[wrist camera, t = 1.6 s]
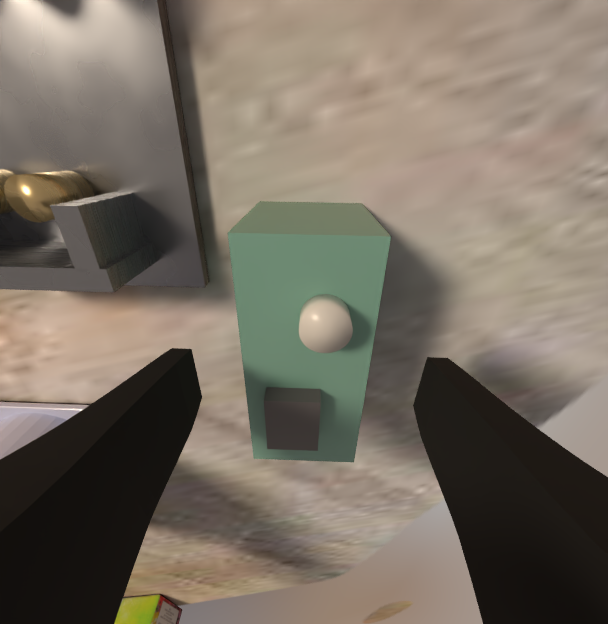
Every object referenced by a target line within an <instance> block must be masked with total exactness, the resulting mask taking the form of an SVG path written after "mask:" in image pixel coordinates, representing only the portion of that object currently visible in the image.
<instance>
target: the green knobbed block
mask: <svg viewBox="0 0 608 624" xmlns="http://www.w3.org/2000/svg"><path fill="white" fill-rule="evenodd" d="M228 240H229V248H230V257H231V266H232V274H233V283H234V292H235V300H236V309H237V317H238V326H239V335H240V343H241V352H242V361H243V369H244V378H245V387H246V395H247V404H248V413H249V421H250V430H251V439H252V447H253V456H254V459H279V460H306V461H334V462H354V458H355V452H356V446H357V440H358V434H359V428H360V422H361V416H362V410H363V404H364V398H365V391H366V385H367V379H368V373H369V367H370V361H371V355H372V349H373V343H374V337H375V331H376V325H377V319H378V313H379V306H380V300H381V294H382V288H383V282H384V276H385V270H386V264H387V258H388V252H389V246H390V240H391V236H390V235H389V234H388V233H387V231H386V230H385V229H384V228H383V227H382V226H381V225H380V223H379V222H378V221H377V220H376V219H375V218H374V217H373V216H372V214H371V213H370V212H369V211H368V210H367V209H366V208H365V206H364V205H363V204H361V203H313V202H265V201H260V202H259V203H258V204H257V205H256V206H255V207H254V208H253V209H252V210H251V211H250V212H249V213H248V214H246V215H245V216H244V217H243V218H242V219H241V220H240V221H239V222H238V223H237V224H236V225H235V226H234V227H233V228H232V229H231V230H230V231H229V232H228Z"/></svg>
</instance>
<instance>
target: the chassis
mask: <svg viewBox="0 0 608 624" xmlns="http://www.w3.org/2000/svg"><path fill="white" fill-rule="evenodd" d="M208 283H209V276H208V269H207V263H206V257H205V250H204V244H203V238H202V231H201V225H200V219H199V212H198V206H197V200H196V193H195V187H194V181H193V174H192V168H191V162H190V155H189V149H188V143H187V136H186V130H185V124H184V117H183V111H182V105H181V98H180V92H179V86H178V79H177V73H176V67H175V60H174V54H173V48H172V41H171V35H170V29H169V22H168V16H167V10H166V3H165V0H0V289H17V290H52V291H87V292H115V291H116V290H118V289H119V288H121V287H122V286H123V285H132V286H167V287H203V288H205V287H206V286H207V285H208Z"/></svg>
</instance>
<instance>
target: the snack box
mask: <svg viewBox="0 0 608 624" xmlns="http://www.w3.org/2000/svg"><path fill="white" fill-rule="evenodd" d="M181 612H182V609H181V608H179V607H178V606H176V605H175V604H173V603H172V602H170V601H168V600H167V599H165V598H164V597H163V596H161V595H159V594H156V595H147V596H137V597H127V598H123V599H122V602H121V605H120V608H119V611H118V614H117V617H116V620H115V623H114V624H179V620H180V616H181Z"/></svg>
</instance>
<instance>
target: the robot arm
mask: <svg viewBox="0 0 608 624" xmlns="http://www.w3.org/2000/svg"><path fill="white" fill-rule="evenodd" d="M201 399H202V395H201V390H200V386H199V381H198V377H197V372H196V368H195V363H194V359H193V354H192V349H175V348H172V349H170V350H169V351H167V352H166V353H164V354H163V355H161V356H160V357H158V358H157V359H155V360H154V361H153V362H151V363H150V364H148V365H147V366H146V367H144V368H143V369H141V370H140V371H139V372H137V373H136V374H134V375H133V376H132V377H130V378H129V379H127V380H126V381H124V382H123V383H122V384H120V385H119V386H117V387H116V388H114V389H113V390H112V391H110V392H109V393H107V394H106V395H104V396H103V397H101V398H100V399H98V400H97V401H95V402H94V403H92V404H91V405H74V404H46V403H18V402H0V624H114V623H115V620H116V617H117V614H118V611H119V608H120V605H121V602H122V599H123V596H124V593H125V590H126V587H127V584H128V581H129V578H130V575H131V573H132V570H133V567H134V564H135V561H136V558H137V556H138V553H139V550H140V547H141V545H142V542H143V539H144V536H145V534H146V531H147V528H148V525H149V523H150V520H151V518H152V516H153V513H154V511H155V508H156V506H157V504H158V502H159V499H160V497H161V495H162V493H163V491H164V489H165V486H166V484H167V482H168V480H169V478H170V476H171V474H172V471H173V469H174V467H175V465H176V463H177V461H178V459H179V456H180V454H181V452H182V450H183V448H184V445H185V443H186V441H187V439H188V437H189V434H190V432H191V430H192V427H193V424H194V421H195V418H196V415H197V412H198V409H199V406H200V402H201ZM413 406H414V410H415V415H416V419H417V423H418V427H419V431H420V435H421V438H422V441H423V444H424V446H425V449H426V452H427V454H428V457H429V460H430V462H431V465H432V467H433V470H434V473H435V475H436V478H437V480H438V483H439V485H440V488H441V491H442V493H443V496H444V498H445V501H446V503H447V506H448V508H449V511H450V514H451V516H452V519H453V522H454V525H455V528H456V531H457V533H458V536H459V539H460V543H461V546H462V550H463V553H464V557H465V560H466V563H467V567H468V570H469V574H470V577H471V581H472V583H473V588H474V591H475V595H476V599H477V602H478V606H479V609H480V613H481V617H482V621H483V624H608V477H606V476H605V475H603V474H602V473H600V472H599V471H597V470H596V469H594V468H592V467H591V466H590V465H588V464H587V463H585V462H583V461H582V460H580V459H579V458H578V457H576V456H575V455H573V454H572V453H570V452H569V451H568V450H566V449H565V448H563V447H562V446H561V445H559V444H558V443H557V442H555V441H553V440H552V439H551V438H550V437H548V436H547V435H546V434H544V433H543V432H541V431H540V430H539V429H537V428H536V427H535V426H533V425H532V424H531V423H529V422H528V421H527V420H525V419H524V418H523V417H521V416H520V415H519V414H518V413H516V412H515V411H514V410H512V409H511V408H510V407H509V406H507V405H506V404H505V403H504V402H502V401H501V400H500V399H499V398H497V397H496V396H495V395H494V394H492V393H491V392H490V391H489V390H487V389H486V388H485V387H484V386H482V385H481V384H480V383H479V382H478V381H476V380H475V379H474V378H473V377H471V376H470V375H469V374H468V373H466V372H465V371H464V370H463V369H461V368H460V367H459V366H458V365H456V364H455V363H454V362H452V361H451V360H450V359H448V358H431V357H427V360H426V364H425V367H424V371H423V374H422V377H421V381H420V384H419V388H418V391H417V395H416V398H415V402H414V405H413Z"/></svg>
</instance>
